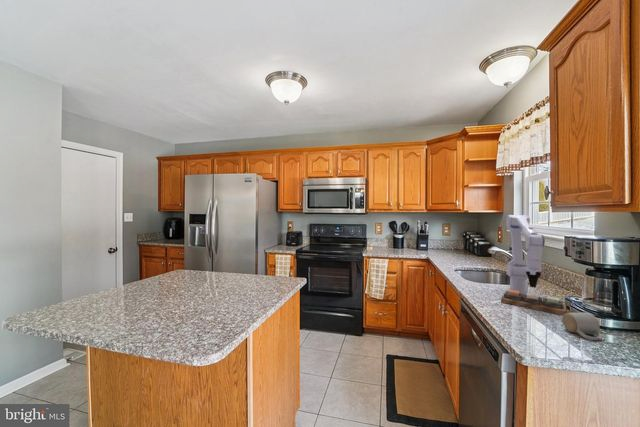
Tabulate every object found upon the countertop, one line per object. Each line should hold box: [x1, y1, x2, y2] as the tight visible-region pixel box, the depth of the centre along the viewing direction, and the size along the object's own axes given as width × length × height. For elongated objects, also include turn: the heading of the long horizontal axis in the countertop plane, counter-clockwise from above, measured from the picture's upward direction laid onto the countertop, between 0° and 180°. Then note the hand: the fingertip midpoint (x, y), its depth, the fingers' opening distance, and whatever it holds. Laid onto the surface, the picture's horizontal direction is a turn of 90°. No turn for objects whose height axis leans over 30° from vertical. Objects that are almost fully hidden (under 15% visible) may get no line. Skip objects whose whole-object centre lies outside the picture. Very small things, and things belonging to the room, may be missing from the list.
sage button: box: [546, 295, 560, 304], centre depth 126 cm, size 4×4×2 cm
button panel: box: [500, 290, 567, 316], centre depth 131 cm, size 24×12×4 cm, turn 49°
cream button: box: [527, 292, 540, 300], centre depth 131 cm, size 4×4×2 cm
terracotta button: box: [507, 288, 520, 296], centre depth 136 cm, size 4×4×2 cm
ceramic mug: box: [561, 311, 601, 341], centre depth 101 cm, size 11×8×8 cm
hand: (532, 287), depth 131 cm, fingers closed
